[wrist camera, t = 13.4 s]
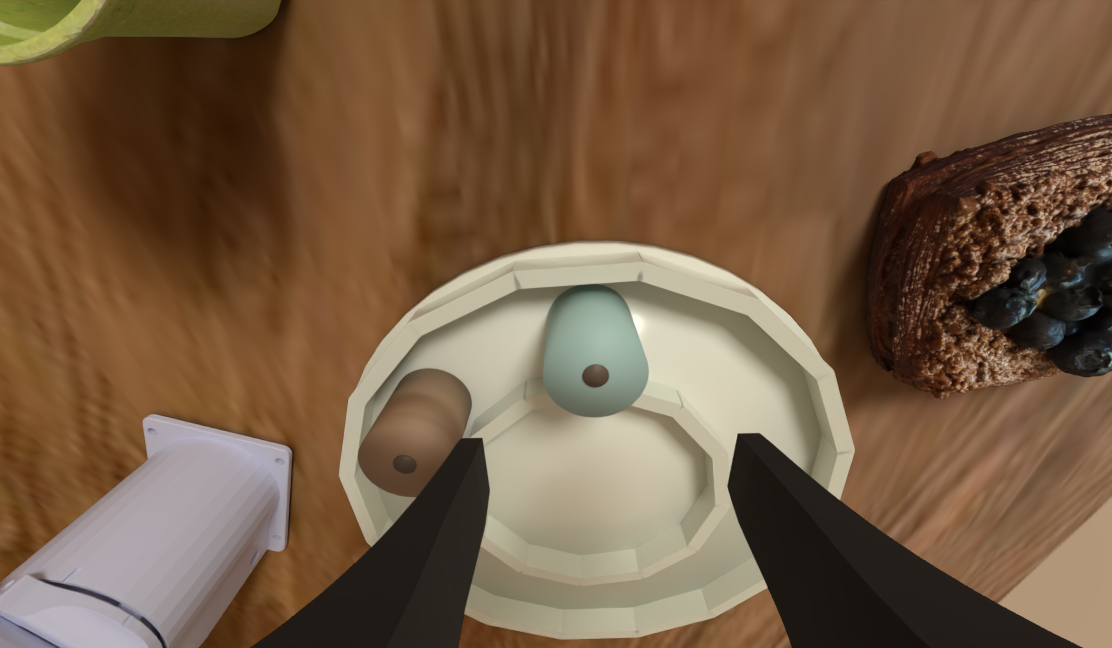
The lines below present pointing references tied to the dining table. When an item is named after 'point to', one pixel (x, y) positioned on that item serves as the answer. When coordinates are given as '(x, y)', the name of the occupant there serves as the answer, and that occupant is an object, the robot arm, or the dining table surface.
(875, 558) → the robot arm
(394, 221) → the dining table surface
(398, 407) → the walnut bead
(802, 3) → the dining table surface
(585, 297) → the teal bead
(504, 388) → the groove tray
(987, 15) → the dining table surface
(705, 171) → the dining table surface
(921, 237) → the pastry
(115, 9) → the plant pot
